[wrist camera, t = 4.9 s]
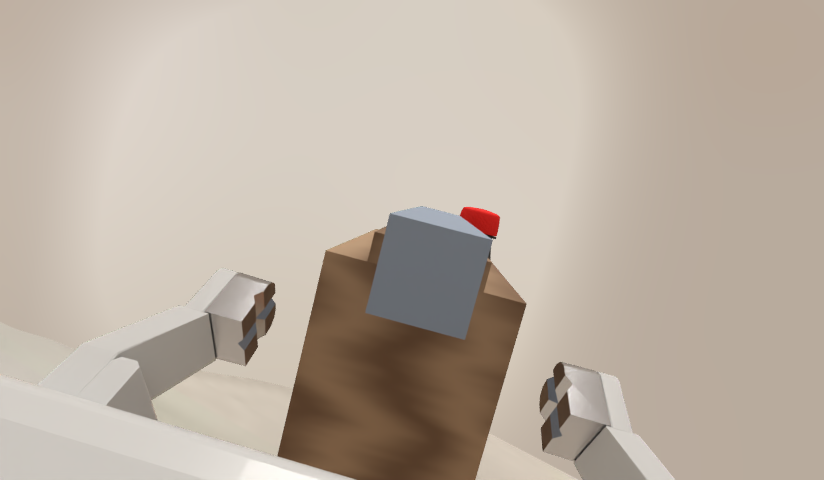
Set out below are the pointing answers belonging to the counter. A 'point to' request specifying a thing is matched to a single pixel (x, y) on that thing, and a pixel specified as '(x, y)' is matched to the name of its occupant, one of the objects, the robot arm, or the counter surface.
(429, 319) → the gray block
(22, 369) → the counter surface
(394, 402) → the walnut block
